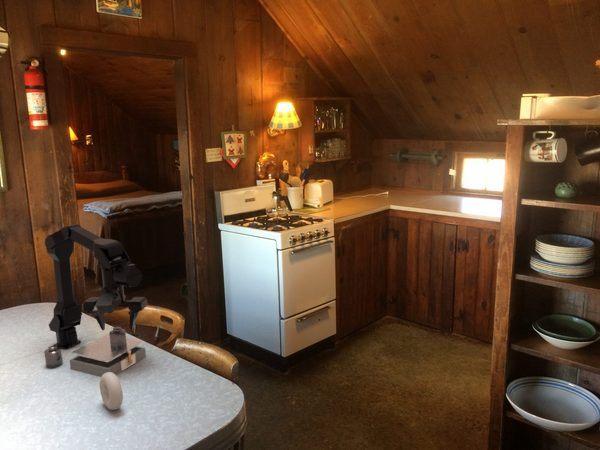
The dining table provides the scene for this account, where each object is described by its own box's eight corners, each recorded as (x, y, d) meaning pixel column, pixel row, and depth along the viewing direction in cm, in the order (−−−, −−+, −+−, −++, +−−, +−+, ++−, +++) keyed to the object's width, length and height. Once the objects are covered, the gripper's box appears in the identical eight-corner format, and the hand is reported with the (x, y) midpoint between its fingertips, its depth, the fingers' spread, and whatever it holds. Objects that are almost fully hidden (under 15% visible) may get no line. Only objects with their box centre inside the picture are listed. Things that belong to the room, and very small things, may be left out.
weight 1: (42, 367, 164) (40, 348, 163) (55, 360, 168) (53, 342, 167) (53, 369, 162) (51, 351, 161) (66, 363, 166) (64, 345, 165)
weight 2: (107, 348, 164) (105, 329, 162) (118, 342, 168) (116, 324, 167) (119, 350, 162) (117, 331, 160) (130, 344, 166) (128, 326, 165)
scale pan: (72, 363, 162) (71, 352, 161) (108, 344, 176) (107, 334, 175) (113, 373, 155) (112, 361, 154) (147, 353, 169) (146, 341, 168)
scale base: (70, 369, 162) (69, 359, 162) (108, 348, 176) (107, 339, 176) (110, 378, 155) (109, 368, 155) (146, 356, 170) (146, 347, 169)
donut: (126, 413, 137) (123, 378, 135) (113, 418, 135) (110, 382, 133) (112, 398, 144) (108, 365, 142) (99, 402, 142) (95, 369, 140)
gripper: (70, 290, 153) (76, 340, 156) (132, 290, 152) (137, 340, 155) (88, 279, 164) (93, 326, 167) (146, 279, 163) (150, 326, 166)
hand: (117, 329), depth 164 cm, fingers open, 9 cm apart
